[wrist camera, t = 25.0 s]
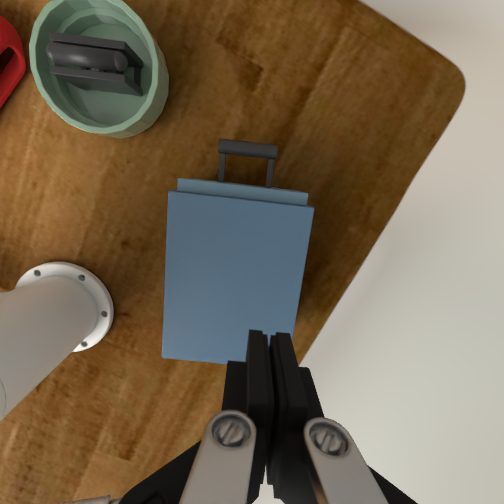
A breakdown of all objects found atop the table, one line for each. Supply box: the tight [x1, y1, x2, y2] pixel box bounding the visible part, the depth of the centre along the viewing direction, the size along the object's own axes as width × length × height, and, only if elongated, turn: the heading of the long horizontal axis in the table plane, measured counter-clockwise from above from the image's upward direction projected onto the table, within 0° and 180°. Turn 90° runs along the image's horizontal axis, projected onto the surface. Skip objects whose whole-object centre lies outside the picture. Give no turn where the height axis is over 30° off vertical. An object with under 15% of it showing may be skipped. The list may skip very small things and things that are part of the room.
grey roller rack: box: [46, 32, 143, 96], centre depth 28 cm, size 7×3×6 cm, turn 84°
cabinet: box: [162, 190, 314, 364], centre depth 32 cm, size 18×14×9 cm
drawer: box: [177, 138, 308, 206], centre depth 32 cm, size 21×12×7 cm, turn 173°
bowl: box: [29, 0, 169, 139], centre depth 29 cm, size 12×12×4 cm
